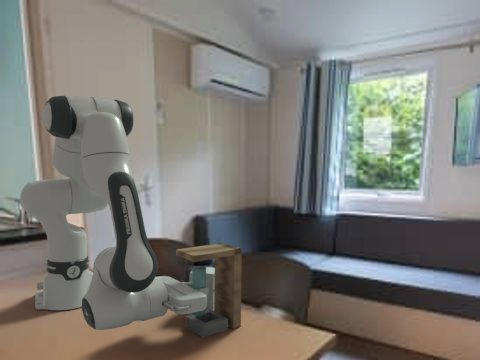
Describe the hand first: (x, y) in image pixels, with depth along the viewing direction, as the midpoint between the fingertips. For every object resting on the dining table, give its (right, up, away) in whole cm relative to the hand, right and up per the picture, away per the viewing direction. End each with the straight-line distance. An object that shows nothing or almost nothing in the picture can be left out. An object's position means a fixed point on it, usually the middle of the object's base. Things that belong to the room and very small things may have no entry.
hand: (201, 287), depth 101 cm
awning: (+1, -11, +2) cm, 12 cm away
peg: (-1, -7, 0) cm, 7 cm away
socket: (+1, -11, +2) cm, 12 cm away
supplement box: (-1, -11, +14) cm, 18 cm away
